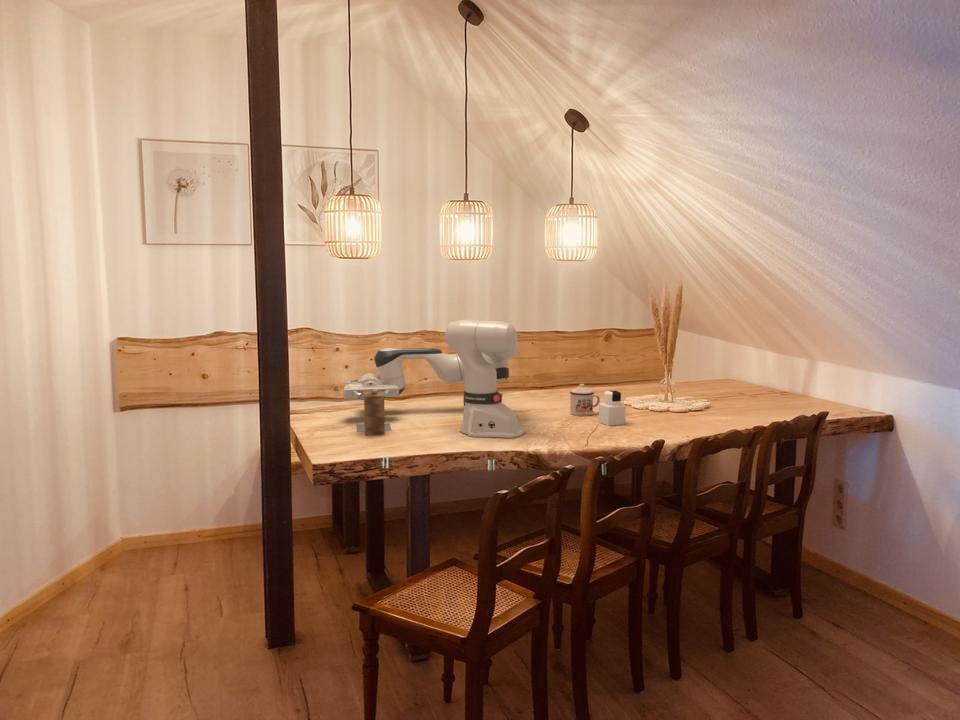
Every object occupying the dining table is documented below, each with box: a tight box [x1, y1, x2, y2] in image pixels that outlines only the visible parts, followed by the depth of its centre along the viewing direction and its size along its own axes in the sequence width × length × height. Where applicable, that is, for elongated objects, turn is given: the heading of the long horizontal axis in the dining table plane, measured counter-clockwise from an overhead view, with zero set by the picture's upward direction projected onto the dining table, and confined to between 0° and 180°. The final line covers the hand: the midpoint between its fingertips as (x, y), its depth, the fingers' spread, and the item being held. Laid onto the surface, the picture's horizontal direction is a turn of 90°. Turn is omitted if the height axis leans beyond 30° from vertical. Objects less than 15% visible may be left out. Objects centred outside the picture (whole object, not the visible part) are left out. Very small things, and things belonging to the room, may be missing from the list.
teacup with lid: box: [569, 383, 601, 417], centre depth 315 cm, size 12×9×12 cm
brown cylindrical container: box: [363, 390, 386, 436], centre depth 280 cm, size 7×7×15 cm
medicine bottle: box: [598, 390, 626, 427], centre depth 297 cm, size 7×7×12 cm
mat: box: [355, 422, 392, 433], centre depth 289 cm, size 12×12×1 cm
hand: (371, 395), depth 292 cm, fingers open, 8 cm apart
